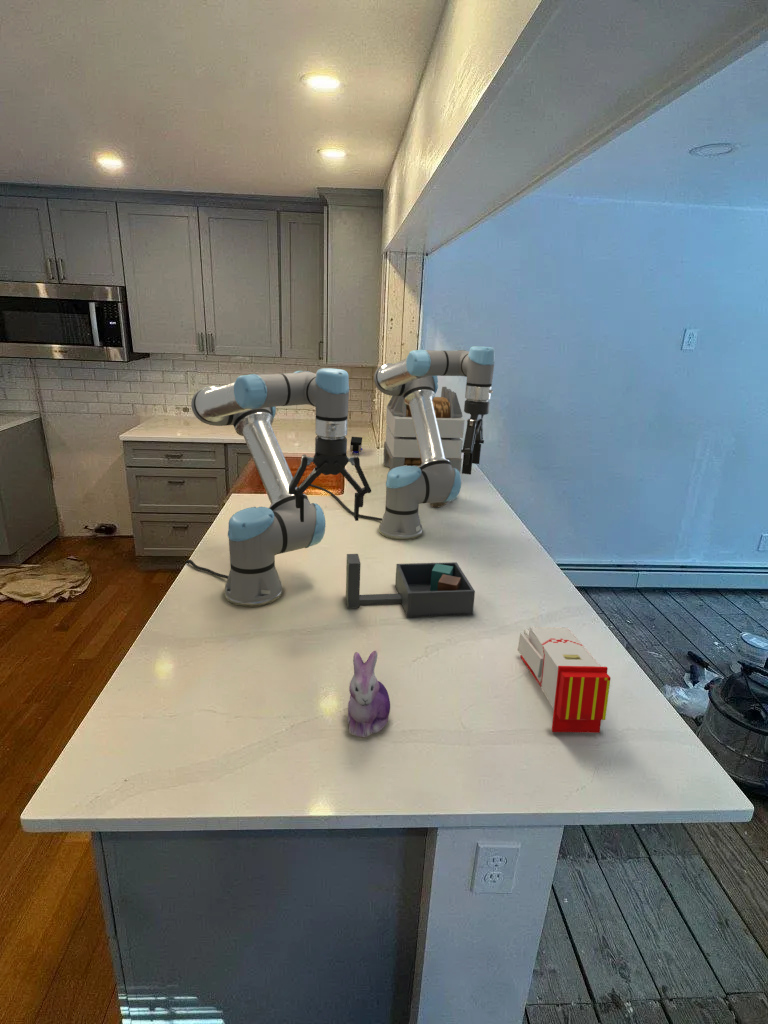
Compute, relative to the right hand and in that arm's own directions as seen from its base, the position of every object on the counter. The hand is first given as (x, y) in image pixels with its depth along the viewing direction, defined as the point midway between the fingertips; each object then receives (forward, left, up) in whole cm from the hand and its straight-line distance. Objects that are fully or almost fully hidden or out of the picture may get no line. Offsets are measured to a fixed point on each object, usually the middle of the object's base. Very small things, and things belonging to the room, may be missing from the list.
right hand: (470, 468), depth 177 cm
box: (+13, -37, -29) cm, 49 cm away
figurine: (+44, -76, -29) cm, 92 cm away
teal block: (+16, -27, -28) cm, 42 cm away
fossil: (-41, +33, -29) cm, 60 cm away
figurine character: (-125, +53, -29) cm, 139 cm away
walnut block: (+22, -30, -28) cm, 46 cm away
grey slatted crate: (-77, +54, -29) cm, 98 cm away
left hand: (+3, -56, -4) cm, 56 cm away
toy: (+60, -38, -29) cm, 77 cm away
